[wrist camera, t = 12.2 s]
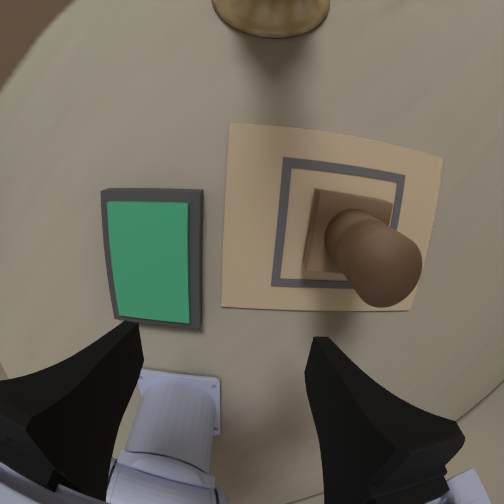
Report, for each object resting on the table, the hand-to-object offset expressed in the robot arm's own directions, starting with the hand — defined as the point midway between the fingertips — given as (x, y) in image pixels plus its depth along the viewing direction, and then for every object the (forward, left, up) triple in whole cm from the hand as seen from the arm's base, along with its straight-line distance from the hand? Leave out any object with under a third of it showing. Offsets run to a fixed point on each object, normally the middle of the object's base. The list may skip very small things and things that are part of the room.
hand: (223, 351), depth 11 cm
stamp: (+3, -7, -10) cm, 12 cm away
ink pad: (0, +6, -10) cm, 11 cm away
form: (+3, -7, -10) cm, 12 cm away
